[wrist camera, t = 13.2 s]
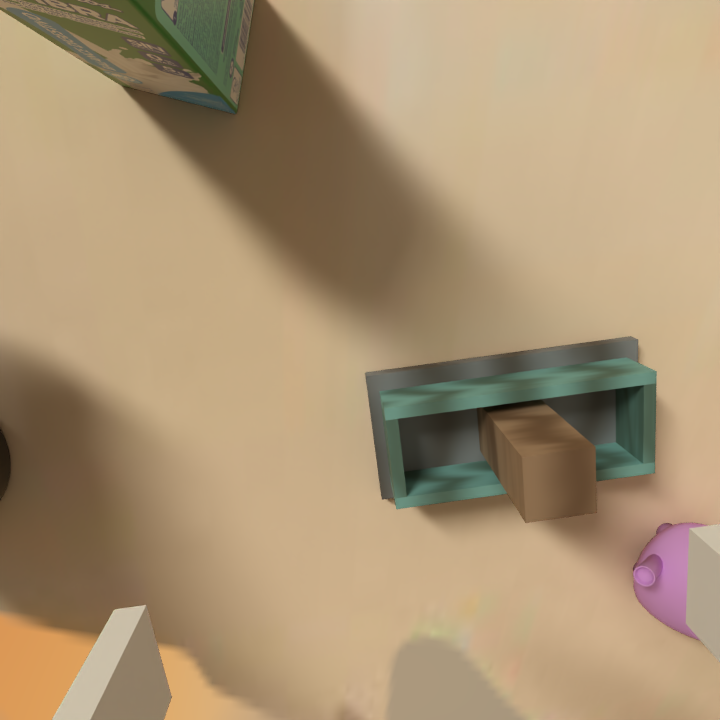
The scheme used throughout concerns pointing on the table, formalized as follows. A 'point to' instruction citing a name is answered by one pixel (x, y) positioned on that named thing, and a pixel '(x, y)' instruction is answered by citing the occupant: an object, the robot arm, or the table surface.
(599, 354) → the green tray
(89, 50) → the milk carton
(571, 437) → the walnut block
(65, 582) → the table surface
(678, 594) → the teapot
